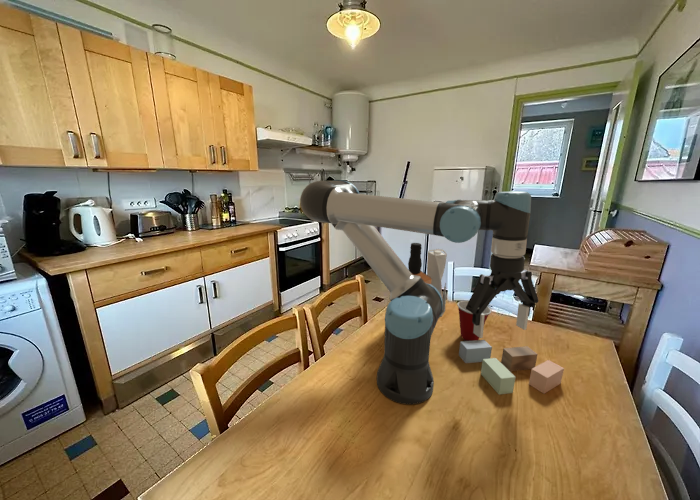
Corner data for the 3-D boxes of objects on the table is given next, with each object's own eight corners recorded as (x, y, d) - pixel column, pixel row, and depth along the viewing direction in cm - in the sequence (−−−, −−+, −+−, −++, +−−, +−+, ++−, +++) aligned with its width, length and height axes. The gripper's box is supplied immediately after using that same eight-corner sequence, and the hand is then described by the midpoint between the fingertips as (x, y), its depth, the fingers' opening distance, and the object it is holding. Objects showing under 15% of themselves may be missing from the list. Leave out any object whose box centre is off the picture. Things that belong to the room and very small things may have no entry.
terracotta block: (543, 394, 74) (547, 377, 73) (528, 384, 78) (531, 368, 76) (560, 383, 78) (564, 368, 76) (545, 375, 81) (548, 359, 80)
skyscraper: (440, 319, 113) (446, 251, 105) (420, 314, 117) (425, 248, 109) (445, 310, 120) (451, 246, 112) (426, 306, 124) (431, 243, 116)
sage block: (512, 393, 74) (515, 377, 73) (498, 394, 74) (501, 378, 73) (493, 372, 82) (495, 357, 81) (480, 374, 81) (482, 359, 80)
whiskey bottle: (392, 324, 108) (395, 242, 100) (409, 316, 114) (414, 239, 106) (413, 336, 100) (419, 248, 92) (430, 327, 106) (437, 244, 98)
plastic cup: (494, 341, 97) (499, 309, 94) (470, 349, 93) (475, 316, 90) (469, 326, 107) (473, 297, 103) (447, 333, 102) (450, 302, 99)
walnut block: (509, 371, 83) (512, 356, 81) (501, 362, 86) (503, 348, 85) (534, 368, 84) (537, 354, 82) (524, 360, 88) (527, 346, 86)
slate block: (465, 363, 86) (467, 349, 85) (458, 355, 90) (460, 341, 89) (489, 361, 87) (491, 347, 86) (482, 353, 91) (484, 339, 90)
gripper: (473, 263, 64) (468, 346, 70) (561, 253, 70) (550, 330, 75) (454, 255, 72) (450, 331, 77) (535, 246, 77) (527, 318, 82)
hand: (500, 331), depth 76 cm, fingers open, 13 cm apart
